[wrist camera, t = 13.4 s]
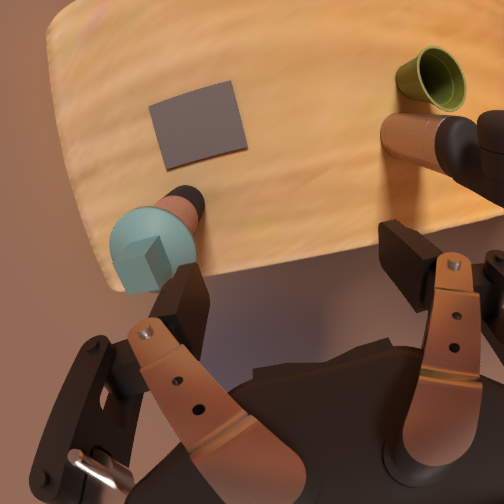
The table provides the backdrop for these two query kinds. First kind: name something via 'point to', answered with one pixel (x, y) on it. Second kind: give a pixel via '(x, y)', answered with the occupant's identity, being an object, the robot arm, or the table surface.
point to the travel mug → (184, 205)
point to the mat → (198, 124)
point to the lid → (150, 248)
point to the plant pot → (433, 79)
